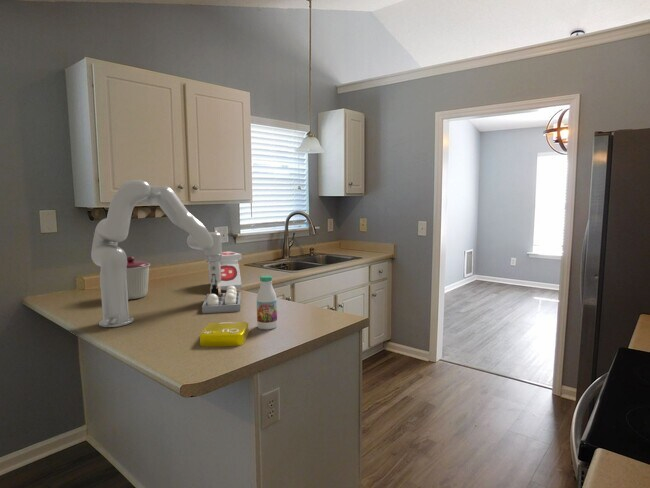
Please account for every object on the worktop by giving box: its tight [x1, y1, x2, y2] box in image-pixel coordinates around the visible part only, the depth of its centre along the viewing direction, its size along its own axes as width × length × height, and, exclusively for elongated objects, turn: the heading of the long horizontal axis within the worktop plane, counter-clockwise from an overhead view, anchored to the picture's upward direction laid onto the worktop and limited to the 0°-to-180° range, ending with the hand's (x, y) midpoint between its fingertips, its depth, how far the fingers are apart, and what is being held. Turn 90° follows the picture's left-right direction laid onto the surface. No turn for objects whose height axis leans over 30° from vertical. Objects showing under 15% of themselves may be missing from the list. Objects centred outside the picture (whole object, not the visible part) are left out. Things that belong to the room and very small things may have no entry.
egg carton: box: [201, 286, 242, 314], centre depth 196 cm, size 24×16×7 cm
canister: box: [126, 255, 151, 300], centre depth 213 cm, size 18×18×21 cm
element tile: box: [199, 321, 249, 347], centre depth 151 cm, size 15×15×5 cm
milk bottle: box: [256, 275, 278, 330], centre depth 163 cm, size 8×8×20 cm
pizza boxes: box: [209, 251, 243, 291], centre depth 235 cm, size 19×30×18 cm, turn 18°
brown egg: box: [209, 284, 222, 297], centre depth 203 cm, size 5×5×6 cm
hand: (215, 295), depth 203 cm, fingers closed on brown egg, 4 cm apart
